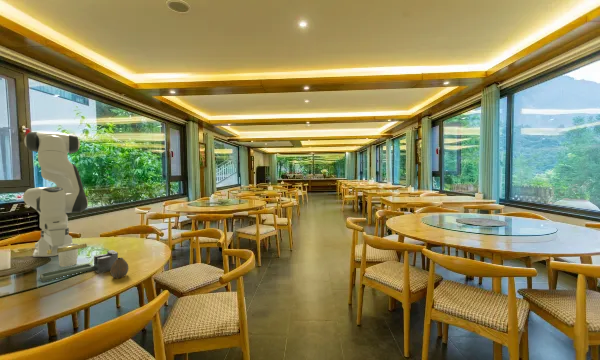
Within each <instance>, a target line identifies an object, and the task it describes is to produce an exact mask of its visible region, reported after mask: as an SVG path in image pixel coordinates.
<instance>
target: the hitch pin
mask: <svg viewBox="0 0 600 360" xmlns="http://www.w3.org/2000/svg"><path fill="white" fill-rule="evenodd" d="M87 247H88V244H87V243H81V244H78V245H74V246H69V247H63V248H58V249H57V253H59V252H65V251H70V250H76V249H78V250H81V249H86V248H87ZM49 254H52V253H51V250H47V255H49Z"/></svg>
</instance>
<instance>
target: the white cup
mask: <svg viewBox="0 0 600 360" xmlns="http://www.w3.org/2000/svg"><path fill="white" fill-rule="evenodd" d="M74 245H79V243H72V244H65V245H63V246H59V247H58V248H63V247H69V246H74ZM78 253H79V249H76V250H70V251H65V252H59V253H58V255H57V256H58V261H59V267H61V268H63V267H64V268H65V266H67V267H72V266H75V265H76V263H78ZM74 264H75V265H74ZM71 265H72V266H71Z"/></svg>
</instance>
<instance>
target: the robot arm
mask: <svg viewBox="0 0 600 360" xmlns="http://www.w3.org/2000/svg"><path fill="white" fill-rule="evenodd" d="M23 142H24V146H25V147H26V148H27V150H29V151H31V152H35V153H37V161H38V165H39V166H40V175H41V177H42V178H43V179H44V180H46V181H49V182H51V183H53V184H55V185H56V186H41V187H39V186H38V187H34V188H28V189H27V190H25V191H24V192H23V196H22V199H23V202H24V203H25V204H26V205H27V206H29V207H31V208H33V209H34V210H36V212H37V213H38V215H39V228H40V229H41V230H40V238H39V240H38V241H37V242H35V243H34V247H35V249H34V251H33V253H32V257H33V258H36V257H37V258H38V257H54V256H59V255H58V253H57V249H58V247H59V246H63V245H65V244H73V236H71V235H69V234H70V229H69V222H68V221H69V217H68V214H69V213H70V214H74V213H75V214H77V213H78V214H79V213H82V212H83V211H86V210H87V208H88V206H89V199H88V197H87V195H86V193H85V189H84V186H83V182H82V179H81V175H80V173H79V170H78V168H77V166H76V165H75V164H72V162H70V160H69V157H68V155H71V154H75V153H77V152H79V149H80V147H81V141H80V139H79V137H78V136H77V135H75V134H71V133H69V134H67V133H62V132H48V131H47V132H45V131H43V132H41V131H40V132H39V131H32V132H31V131H29V132H28V133H27V134H26V135H25V136H24V140H23ZM68 153H69V154H68ZM67 213H68V214H67ZM47 250H51V253H52V254H49V255H47Z"/></svg>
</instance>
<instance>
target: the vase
mask: <svg viewBox="0 0 600 360" xmlns="http://www.w3.org/2000/svg"><path fill="white" fill-rule="evenodd" d="M128 272H129V264H128V262H127V261H126V260H125V259H124V258H123V257H118V258H117V259H116V261H115V262H114V263H113V265H112V266H111V271H110V274H111V277H113V278H114V279H121V278H124V277H125V276H126V275H127V274H128Z"/></svg>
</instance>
